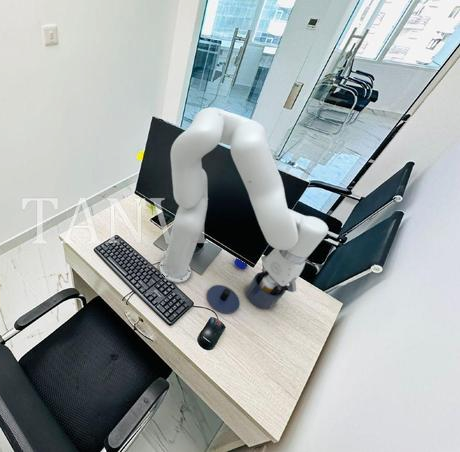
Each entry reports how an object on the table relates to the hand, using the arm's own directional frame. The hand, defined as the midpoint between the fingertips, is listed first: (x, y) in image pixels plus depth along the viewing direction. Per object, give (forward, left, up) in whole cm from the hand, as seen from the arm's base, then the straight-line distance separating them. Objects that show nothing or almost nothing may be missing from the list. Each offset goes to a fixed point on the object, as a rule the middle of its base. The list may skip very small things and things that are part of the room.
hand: (268, 285), depth 90 cm
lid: (-3, -15, -7) cm, 16 cm away
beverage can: (-15, +2, -8) cm, 17 cm away
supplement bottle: (0, 0, -5) cm, 5 cm away
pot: (0, 0, -7) cm, 7 cm away
